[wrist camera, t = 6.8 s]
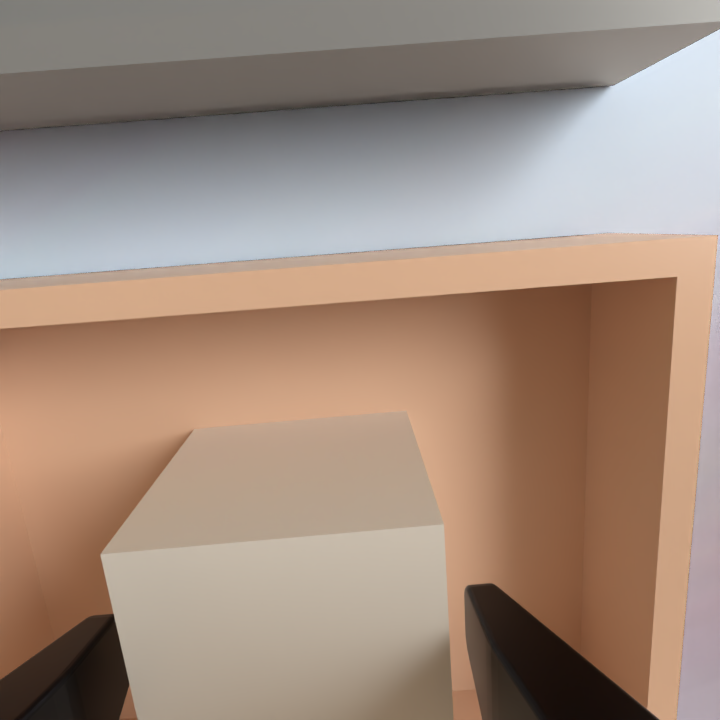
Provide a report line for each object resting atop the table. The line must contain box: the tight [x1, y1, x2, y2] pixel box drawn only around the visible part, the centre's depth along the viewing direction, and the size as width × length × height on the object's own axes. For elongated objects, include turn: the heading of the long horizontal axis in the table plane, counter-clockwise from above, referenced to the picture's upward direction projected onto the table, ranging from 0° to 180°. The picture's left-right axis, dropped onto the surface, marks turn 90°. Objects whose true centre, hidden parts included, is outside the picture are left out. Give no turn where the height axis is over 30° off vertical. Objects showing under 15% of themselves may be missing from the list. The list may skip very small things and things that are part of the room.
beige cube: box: [100, 411, 454, 720], centre depth 9 cm, size 4×4×4 cm
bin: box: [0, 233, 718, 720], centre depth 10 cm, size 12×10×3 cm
